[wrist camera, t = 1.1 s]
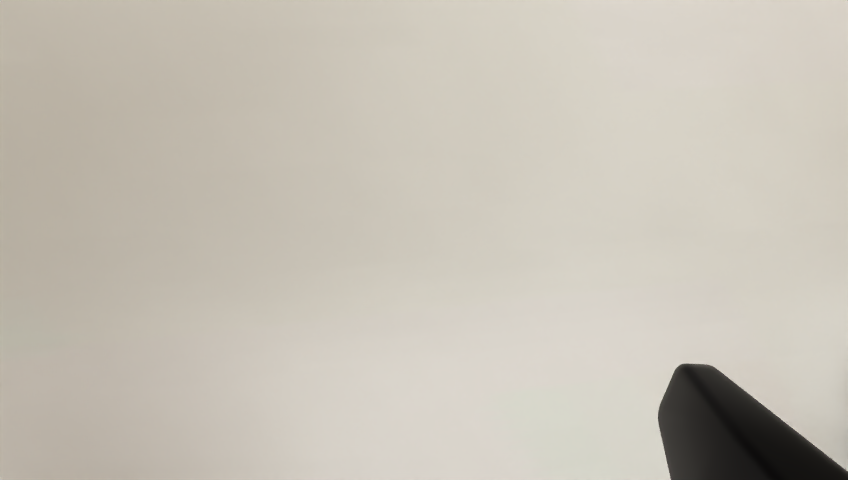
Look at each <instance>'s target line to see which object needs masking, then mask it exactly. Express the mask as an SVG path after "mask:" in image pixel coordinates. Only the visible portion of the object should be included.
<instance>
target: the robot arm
mask: <svg viewBox="0 0 848 480" xmlns="http://www.w3.org/2000/svg"><path fill="white" fill-rule="evenodd" d="M658 422H659V428H660V432H661V437H662V441H663V446H664V450H665V455H666V459H667V464H668V468H669V473H670V477H671V480H848V472H847V471H846V470H845V469H843V468H842V467H841V466H840V465H838V464H837V463H836V462H834V461H833V460H832V459H831V458H829V457H828V456H827V455H826V454H824V453H823V452H822V451H820V450H819V449H818V448H817V447H815V446H814V445H813V444H812V443H810V442H809V441H808V440H806V439H805V438H804V437H803V436H801V435H800V434H799V433H798V432H796V431H795V430H794V429H793V428H791V427H790V426H789V425H787V424H786V423H785V422H784V421H782V420H781V419H780V418H779V417H777V416H776V415H775V414H773V413H772V412H771V411H770V410H768V409H767V408H766V407H765V406H763V405H762V404H761V403H759V402H758V401H757V400H756V399H754V398H753V397H752V396H751V395H749V394H748V393H747V392H745V391H744V390H743V389H742V388H740V387H739V386H738V385H737V384H735V383H734V382H733V381H731V380H730V379H729V378H728V377H726V376H725V375H724V374H723V373H721V372H720V371H719V370H717V369H716V368H715V367H713V366H710V365H704V364H681V365H680V366H678V367H677V368H676V370H675V372H674V374H673V376H672V378H671V381H670V383H669V385H668V388H667V390H666V392H665V394H664V397H663V399H662V401H661V404H660V407H659V412H658Z"/></svg>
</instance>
